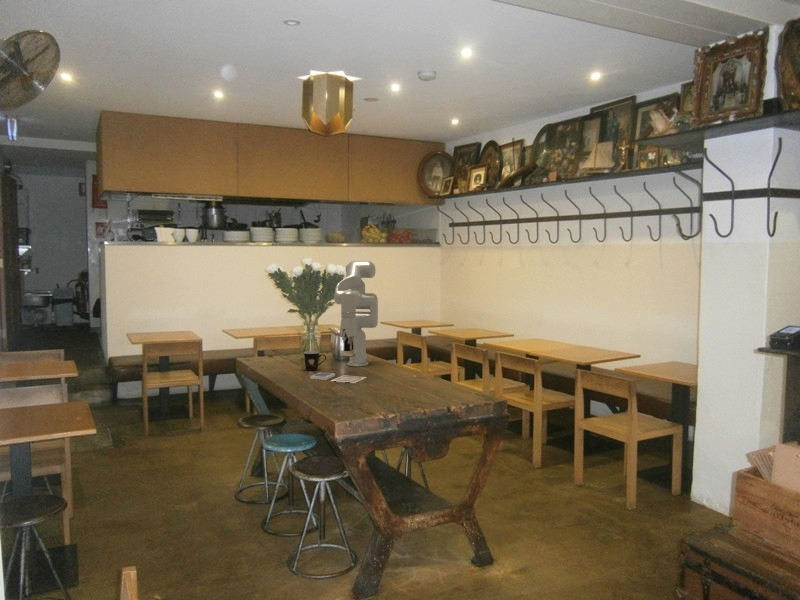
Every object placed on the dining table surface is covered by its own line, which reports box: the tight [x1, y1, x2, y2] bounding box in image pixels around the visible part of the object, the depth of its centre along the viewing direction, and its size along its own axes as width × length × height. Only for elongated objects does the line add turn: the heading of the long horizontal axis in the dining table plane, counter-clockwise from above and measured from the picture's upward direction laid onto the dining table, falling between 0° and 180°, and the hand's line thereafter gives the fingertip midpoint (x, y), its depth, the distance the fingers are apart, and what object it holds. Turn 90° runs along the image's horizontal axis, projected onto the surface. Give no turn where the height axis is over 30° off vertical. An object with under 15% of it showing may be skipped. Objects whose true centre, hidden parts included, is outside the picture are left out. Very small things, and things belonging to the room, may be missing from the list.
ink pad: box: [309, 372, 336, 381], centre depth 330 cm, size 11×9×2 cm
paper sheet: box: [330, 374, 368, 384], centre depth 326 cm, size 15×14×1 cm
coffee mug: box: [303, 350, 327, 372], centre depth 350 cm, size 12×9×10 cm
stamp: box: [340, 336, 356, 358], centre depth 324 cm, size 6×5×12 cm
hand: (348, 350), depth 324 cm, fingers closed on stamp, 3 cm apart
